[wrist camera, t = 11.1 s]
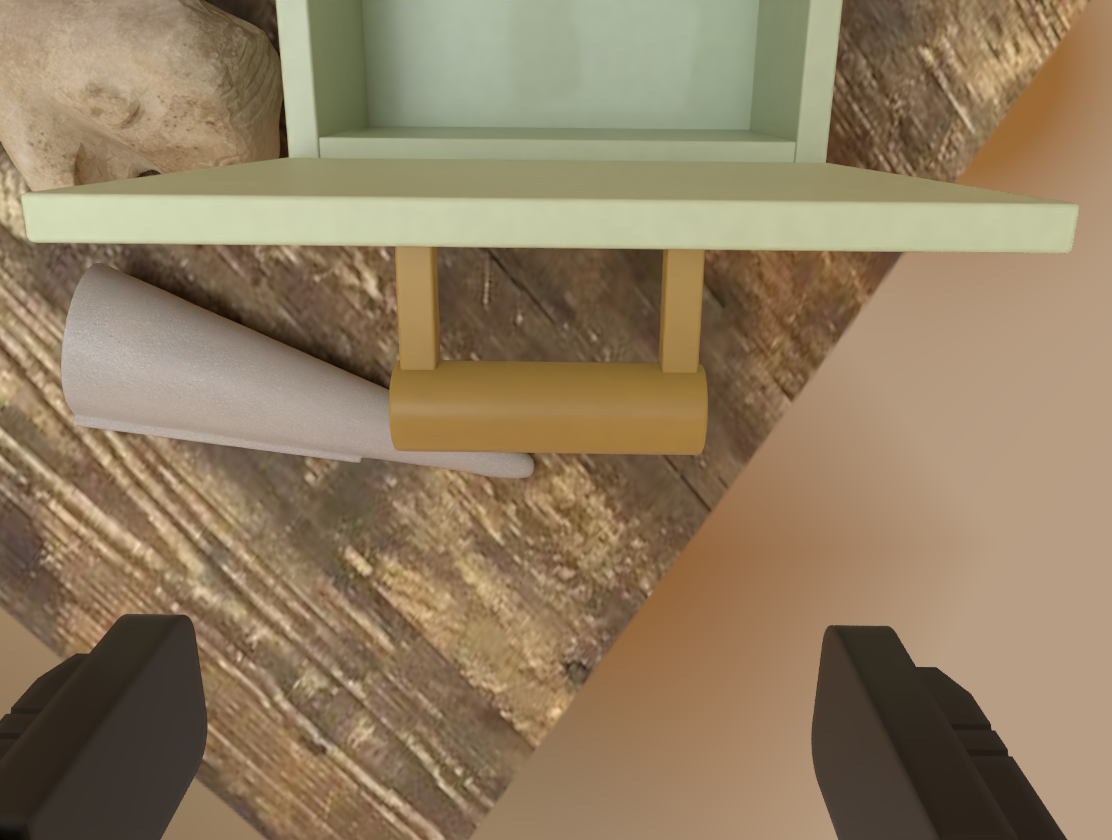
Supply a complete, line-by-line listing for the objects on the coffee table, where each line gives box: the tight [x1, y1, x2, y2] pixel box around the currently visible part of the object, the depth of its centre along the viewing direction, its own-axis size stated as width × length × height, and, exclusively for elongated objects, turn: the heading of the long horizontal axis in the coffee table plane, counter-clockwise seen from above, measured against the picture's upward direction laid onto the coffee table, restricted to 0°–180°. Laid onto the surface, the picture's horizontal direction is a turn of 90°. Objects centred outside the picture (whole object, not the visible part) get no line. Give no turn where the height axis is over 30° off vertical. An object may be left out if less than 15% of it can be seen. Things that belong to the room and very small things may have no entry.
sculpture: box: [0, 0, 283, 192], centre depth 33 cm, size 9×17×10 cm
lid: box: [21, 158, 1079, 455], centre depth 23 cm, size 15×17×5 cm
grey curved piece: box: [61, 263, 534, 478], centre depth 39 cm, size 6×6×19 cm
